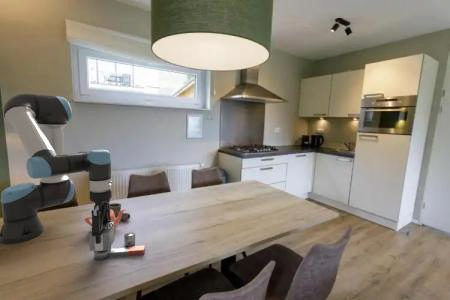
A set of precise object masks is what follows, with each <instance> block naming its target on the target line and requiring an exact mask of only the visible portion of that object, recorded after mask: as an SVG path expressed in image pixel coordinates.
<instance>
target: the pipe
mask: <svg viewBox="0 0 450 300" xmlns="http://www.w3.org/2000/svg"><path fill="white" fill-rule="evenodd" d="M110 210H113V211H114V214H115V217H116V218H117V217H118V216H119V213H120V211H121V210H122V204H121V203H118V202H113V203H110ZM130 219H131V214H130V213H129V212H123V213H122V216H121V220H120V221H128V220H129V221H130Z"/></svg>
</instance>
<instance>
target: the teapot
mask: <svg viewBox="0 0 450 300" xmlns="http://www.w3.org/2000/svg"><path fill="white" fill-rule="evenodd" d="M125 211H127V209H126V208H125V209H121V211H120V213H119V216H118V217H117V218H116V217H115V214H114V211H113V210H110V217H111V220H109V221H111V222H114V233H115V231H116V229H117V224H119V223H120V222H121V221H122V220H121V216H122V213H125ZM90 220H92V215H90V216H87V217H85V218H84V221H85V223H86V224H87V225H89V226H91V227H92V221H90Z"/></svg>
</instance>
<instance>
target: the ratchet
mask: <svg viewBox="0 0 450 300" xmlns="http://www.w3.org/2000/svg"><path fill="white" fill-rule="evenodd" d="M145 252H146V245H135V246H130V247H129V248H125V247H119V248H118V247H117V248H112V246H111V247H110V249H108V250H101V251H93V256H94V257H93V258H94V260H95V261H104V260H107V259H109V258H117V257H118V258H119V257H133V256H144V255H145Z"/></svg>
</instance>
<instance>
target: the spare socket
mask: <svg viewBox="0 0 450 300" xmlns="http://www.w3.org/2000/svg"><path fill="white" fill-rule="evenodd" d="M123 238H124V239H123V240H124V241H123V242H124V243H123V244H124V245H123V246H124V247H123V248H129V247H130V246H136V233H135V232H131V231H130V232H127V233H125V234H124V235H123Z"/></svg>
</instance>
